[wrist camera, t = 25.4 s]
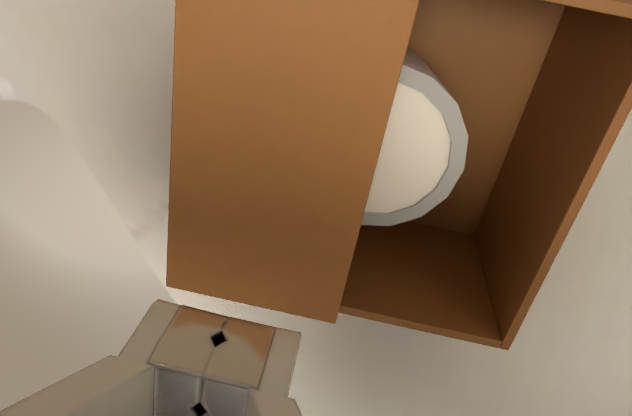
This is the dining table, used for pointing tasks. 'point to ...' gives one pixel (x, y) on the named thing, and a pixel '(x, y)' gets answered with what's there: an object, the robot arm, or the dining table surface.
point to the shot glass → (417, 148)
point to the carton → (501, 162)
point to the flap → (277, 144)
